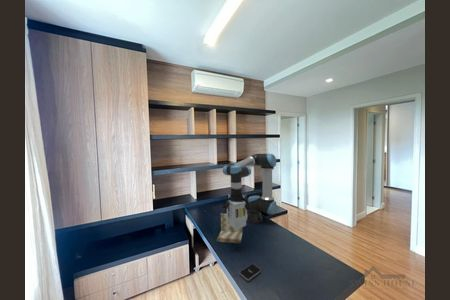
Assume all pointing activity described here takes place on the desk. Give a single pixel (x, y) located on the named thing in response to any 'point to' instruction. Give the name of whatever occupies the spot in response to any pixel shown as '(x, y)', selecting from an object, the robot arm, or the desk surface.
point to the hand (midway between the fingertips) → (237, 218)
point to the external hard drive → (250, 272)
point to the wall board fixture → (229, 231)
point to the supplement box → (237, 214)
